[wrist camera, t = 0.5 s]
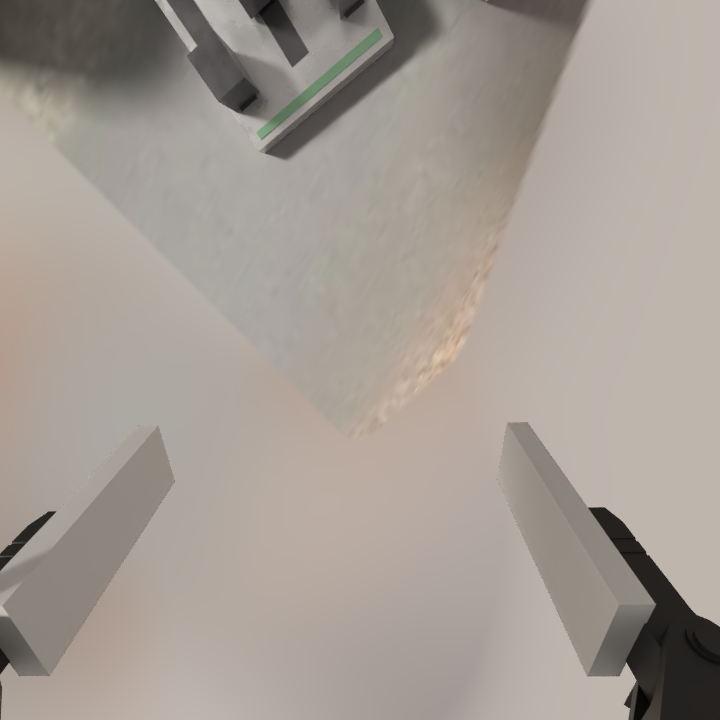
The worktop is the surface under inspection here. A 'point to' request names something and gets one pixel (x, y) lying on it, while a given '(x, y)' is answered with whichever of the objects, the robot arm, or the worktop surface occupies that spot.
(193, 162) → the worktop surface
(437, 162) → the worktop surface
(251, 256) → the worktop surface
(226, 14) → the breaker panel
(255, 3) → the breaker handle
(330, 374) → the worktop surface
